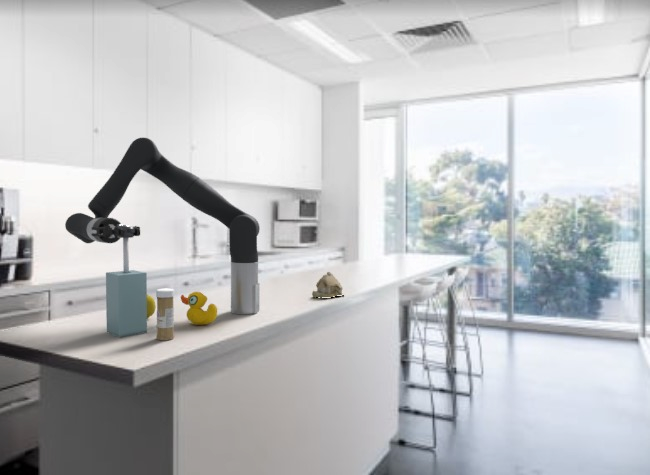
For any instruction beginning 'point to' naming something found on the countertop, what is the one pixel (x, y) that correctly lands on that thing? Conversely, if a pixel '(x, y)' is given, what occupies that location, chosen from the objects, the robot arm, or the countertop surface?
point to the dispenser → (126, 303)
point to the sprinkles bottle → (165, 314)
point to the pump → (126, 245)
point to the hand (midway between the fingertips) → (130, 232)
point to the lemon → (150, 306)
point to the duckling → (199, 309)
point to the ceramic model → (327, 287)
